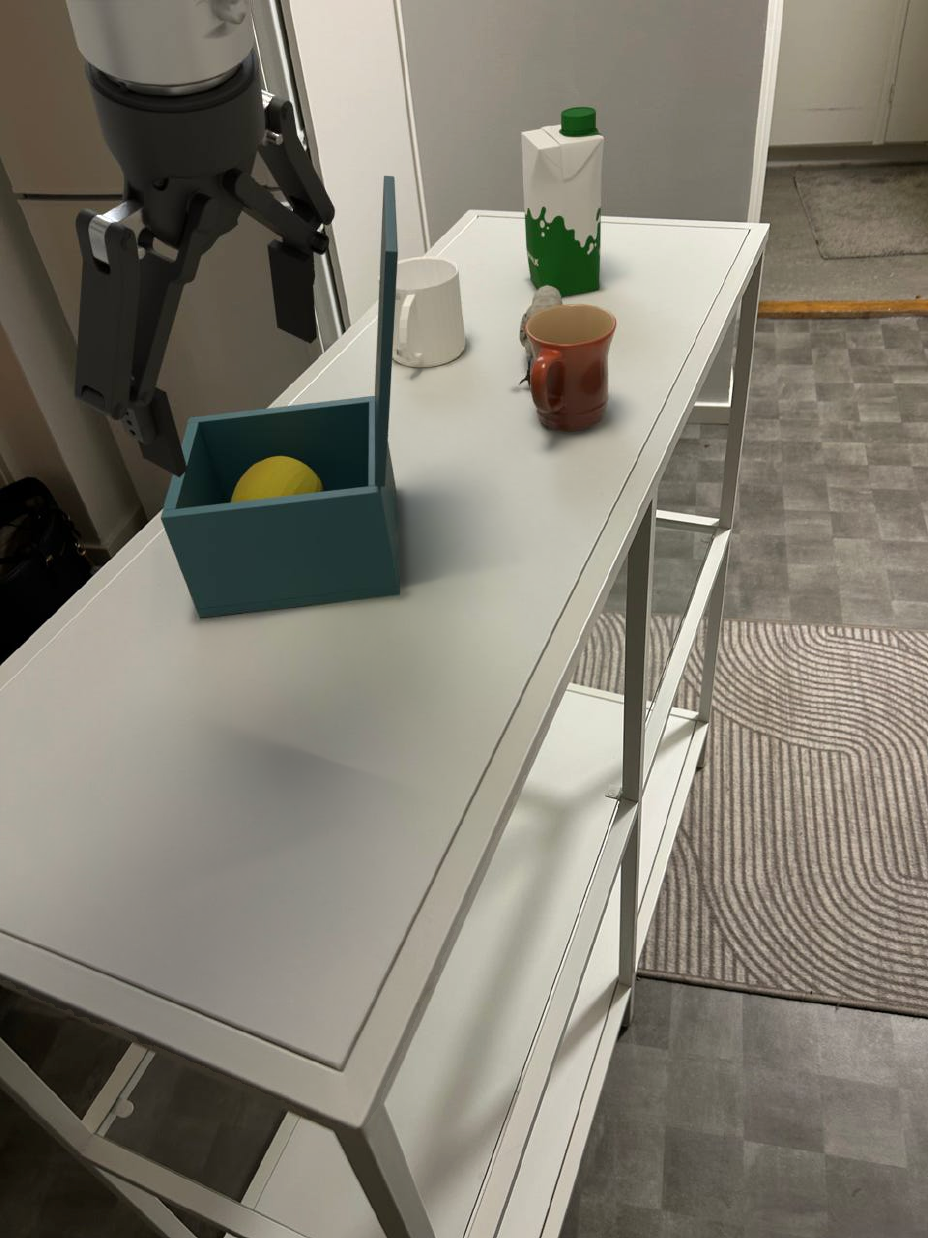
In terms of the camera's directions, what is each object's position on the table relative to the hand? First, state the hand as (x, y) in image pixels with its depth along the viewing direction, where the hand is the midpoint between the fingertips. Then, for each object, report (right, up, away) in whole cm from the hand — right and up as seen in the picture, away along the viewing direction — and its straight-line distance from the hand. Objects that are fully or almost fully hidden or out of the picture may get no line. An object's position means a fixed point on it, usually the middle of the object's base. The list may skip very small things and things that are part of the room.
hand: (235, 394), depth 59 cm
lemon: (-1, -8, +24) cm, 25 cm away
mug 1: (+10, +17, +50) cm, 54 cm away
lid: (+8, +7, +11) cm, 15 cm away
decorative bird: (+24, +15, +47) cm, 55 cm away
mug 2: (+25, +5, +36) cm, 44 cm away
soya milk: (+28, +29, +61) cm, 73 cm away
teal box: (0, -8, +24) cm, 26 cm away
